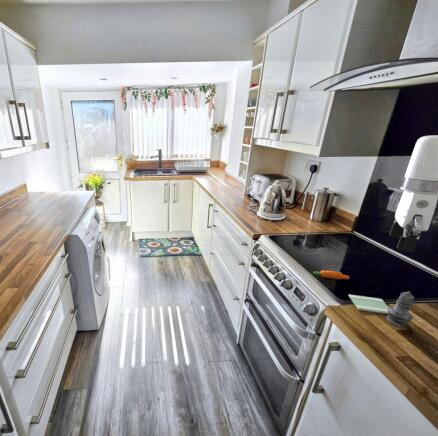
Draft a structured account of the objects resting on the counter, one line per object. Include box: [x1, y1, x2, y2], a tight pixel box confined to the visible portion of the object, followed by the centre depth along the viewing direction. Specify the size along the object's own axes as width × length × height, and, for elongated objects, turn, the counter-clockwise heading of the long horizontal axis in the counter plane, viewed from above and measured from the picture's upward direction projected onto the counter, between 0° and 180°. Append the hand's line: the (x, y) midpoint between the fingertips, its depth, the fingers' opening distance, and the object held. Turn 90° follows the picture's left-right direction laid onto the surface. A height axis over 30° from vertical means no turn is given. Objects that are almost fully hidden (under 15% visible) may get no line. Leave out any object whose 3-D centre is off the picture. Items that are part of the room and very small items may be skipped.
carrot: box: [312, 269, 350, 280], centre depth 100 cm, size 13×3×3 cm, turn 73°
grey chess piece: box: [384, 290, 415, 329], centre depth 76 cm, size 6×6×12 cm
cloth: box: [348, 293, 389, 315], centre depth 85 cm, size 8×10×1 cm
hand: (400, 243), depth 69 cm, fingers open, 9 cm apart
